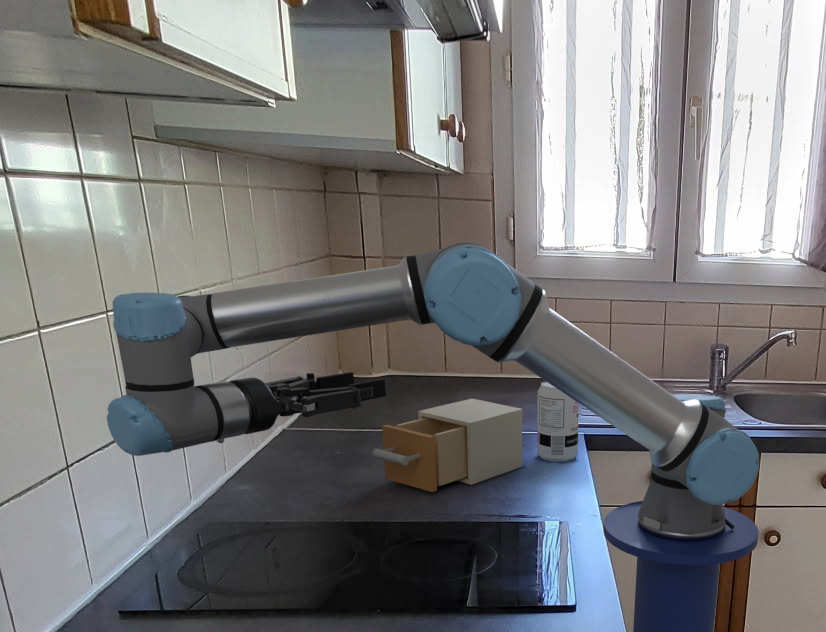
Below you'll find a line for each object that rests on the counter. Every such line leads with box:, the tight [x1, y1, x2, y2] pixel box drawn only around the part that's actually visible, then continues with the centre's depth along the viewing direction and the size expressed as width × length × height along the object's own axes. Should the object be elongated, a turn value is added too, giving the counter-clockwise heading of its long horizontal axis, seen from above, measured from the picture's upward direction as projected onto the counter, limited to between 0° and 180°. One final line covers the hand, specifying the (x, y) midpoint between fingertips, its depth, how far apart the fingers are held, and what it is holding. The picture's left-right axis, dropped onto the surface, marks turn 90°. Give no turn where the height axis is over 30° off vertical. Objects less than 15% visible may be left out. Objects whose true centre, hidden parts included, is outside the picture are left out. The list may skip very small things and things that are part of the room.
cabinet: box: [417, 398, 523, 486], centre depth 157 cm, size 15×13×12 cm
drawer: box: [372, 417, 468, 493], centre depth 147 cm, size 18×11×10 cm, turn 150°
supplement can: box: [536, 381, 580, 463], centre depth 167 cm, size 8×8×15 cm
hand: (367, 384), depth 132 cm, fingers open, 6 cm apart
